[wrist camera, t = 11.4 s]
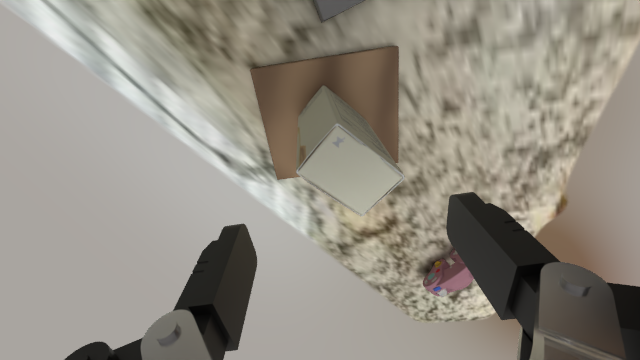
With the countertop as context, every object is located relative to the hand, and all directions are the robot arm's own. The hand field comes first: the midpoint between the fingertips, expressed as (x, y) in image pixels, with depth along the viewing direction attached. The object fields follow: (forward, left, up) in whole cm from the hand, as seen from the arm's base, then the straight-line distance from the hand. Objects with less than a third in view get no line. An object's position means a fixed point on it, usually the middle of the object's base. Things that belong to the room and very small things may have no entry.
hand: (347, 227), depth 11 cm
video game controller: (-16, +25, -21) cm, 36 cm away
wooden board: (-1, +1, -21) cm, 21 cm away
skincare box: (-1, +1, -19) cm, 19 cm away
